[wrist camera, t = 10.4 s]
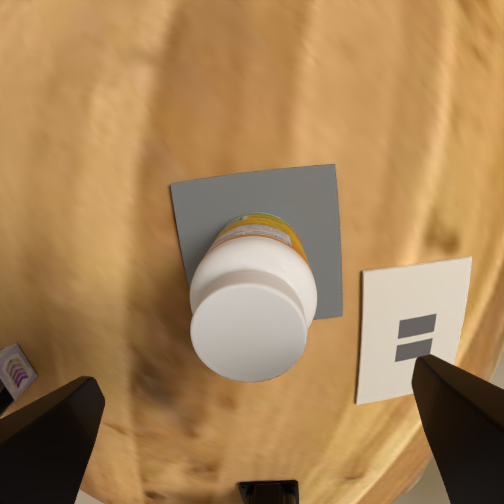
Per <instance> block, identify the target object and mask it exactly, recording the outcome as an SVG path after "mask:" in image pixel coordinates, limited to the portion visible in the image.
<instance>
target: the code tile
mask: <svg viewBox="0 0 504 504" xmlns="http://www.w3.org/2000/svg"><path fill="white" fill-rule="evenodd" d="M471 264H472V257H471V256H467V257H461V258H454V259H447V260H440V261H433V262H425V263H418V264H411V265H403V266H395V267H387V268H379V269H371V270H363V271H362V326H361V346H360V362H359V375H358V386H357V397H356V405H360V404H365V403H371V402H376V401H381V400H386V399H391V398H395V397H400V396H404V395H408V394H412V393H413V390H412V385H411V381H412V375H413V370H414V365H415V361H416V358H417V357H419V356H422V355H427V354H432V355H434V356H436V357H438V358H440V359H442V360H444V361H446V362H448V363H450V364H452V365H454V361H455V357H456V353H457V349H458V344H459V340H460V335H461V330H462V325H463V320H464V315H465V309H466V303H467V296H468V289H469V282H470V273H471Z"/></svg>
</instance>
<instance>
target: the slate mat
mask: <svg viewBox="0 0 504 504" xmlns="http://www.w3.org/2000/svg"><path fill="white" fill-rule="evenodd" d="M170 185H171V192H172V198H173V205H174V211H175V217H176V223H177V229H178V235H179V240H180V246H181V251H182V257H183V262H184V267H185V272H186V277H187V282H188V287H189V292H190V287H191V283H192V279H193V277H194V274H195V272H196V269H197V267H198V265H199V264H200V262H201V261H202V259H203V258H204V256H205V255H206V253H207V252H208V250H209V249H210V247H211V246H212V244H213V243H214V241H215V239H216V238H217V236H218V235H219V233H220V232H221V231H222V229H223V228H224V227H225V226H226V225H227V224H228V223H229V222H231V221H232V220H234V219H235V218H237V217H239V216H242V215H245V214H249V213H255V212H261V213H268V214H271V215H274V216H277V217H279V218H281V219H282V220H284V221H285V222H287V223H288V224H289V225H290V226H291V227H292V228H293V229H294V231H295V232H296V234H297V235H298V237H299V239H300V241H301V244H302V247H303V249H304V252H305V255H306V257H307V260H308V263H309V266H310V268H311V271H312V274H313V277H314V280H315V284H316V289H317V307H316V312H315V315H314V318H313V320H317V319H325V318H333V317H341V316H343V298H342V257H341V235H340V218H339V203H338V190H337V179H336V168H335V164H329V165H316V166H304V167H293V168H283V169H273V170H264V171H255V172H247V173H239V174H231V175H224V176H216V177H209V178H203V179H196V180H190V181H183V182H177V183H172V184H170Z"/></svg>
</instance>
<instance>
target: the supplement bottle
mask: <svg viewBox="0 0 504 504" xmlns="http://www.w3.org/2000/svg"><path fill="white" fill-rule="evenodd" d="M190 306H191V311H192V314H193V317H192V321H191V326H190V333H191V341H192V344H193V347H194V349H195V351H196V353H197V355H198V356H199V358H200V359H201V360H202V361H203V363H204V364H205V365H206V366H208V367H209V368H210V369H211V370H213V371H214V372H216V373H217V374H219V375H221V376H223V377H226V378H228V379H232V380H235V381H240V382H261V381H266V380H270V379H273V378H275V377H278V376H280V375H281V374H283V373H285V372H286V371H288V370H289V369H290V368H291V367H293V366H294V365H295V363H296V362H297V361H298V360H299V358H300V357H301V355H302V353H303V351H304V349H305V345H306V341H307V329H308V328H309V326H310V324H311V322H312V320H313V318H314V315H315V312H316V307H317V289H316V284H315V280H314V277H313V274H312V271H311V268H310V266H309V263H308V260H307V257H306V255H305V252H304V249H303V247H302V244H301V241H300V239H299V237H298V235H297V234H296V232H295V231H294V229H293V228H292V227H291V226H290V225H289V224H288V223H287V222H285V221H284V220H282V219H281V218H279V217H277V216H274V215H271V214H268V213H261V212H255V213H249V214H245V215H242V216H239V217H237V218H235V219H234V220H232V221H231V222H229V223H228V224H227V225H226V226H225V227H224V228H223V229H222V231H221V232H220V233H219V235H218V236H217V238H216V239H215V241H214V243H213V244H212V246H211V247H210V249H209V250H208V252H207V253H206V255H205V256H204V258H203V259H202V261H201V262H200V264H199V265H198V267H197V269H196V272H195V274H194V277H193V279H192V283H191V287H190Z"/></svg>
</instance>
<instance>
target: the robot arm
mask: <svg viewBox="0 0 504 504" xmlns="http://www.w3.org/2000/svg"><path fill="white" fill-rule="evenodd" d="M411 385H412V390H413V393H414V396H415V400H416V403H417V407H418V410H419V414H420V418H421V421H422V425H423V428H424V432H425V434H426V437H427V440H428V442H429V445H430V447H431V450H432V453H433V455H434V458H435V460H436V463H437V466H438V468H439V471H440V474H441V477H442V479H443V482H444V485H445V488H446V491H447V494H448V497H449V500H450V503H451V504H504V389H501V388H499V387H497V386H495V385H493V384H491V383H489V382H487V381H485V380H483V379H481V378H479V377H477V376H475V375H473V374H471V373H469V372H467V371H465V370H463V369H461V368H459V367H457V366H454V365H452V364H450V363H448V362H446V361H444V360H442V359H440V358H438V357H436V356H434V355H432V354H427V355H422V356H419V357H417V358H416V361H415V365H414V370H413V375H412V381H411ZM104 406H105V398H104V396H103V394H102V392H101V389H100V387H99V385H98V383H97V381H96V379H95V378H93V377H89V376H81V377H79V378H77V379H75V380H73V381H71V382H70V383H68V384H66V385H64V386H62V387H60V388H59V389H57V390H55V391H53V392H51V393H49V394H47V395H45V396H44V397H42V398H40V399H38V400H36V401H34V402H32V403H30V404H28V405H27V406H25V407H23V408H21V409H19V410H17V411H15V412H13V413H11V414H9V415H7V416H5V417H4V418H2V419H0V504H74V503H75V500H76V497H77V494H78V491H79V488H80V485H81V482H82V479H83V476H84V473H85V470H86V467H87V464H88V461H89V459H90V456H91V453H92V450H93V447H94V444H95V441H96V437H97V433H98V429H99V425H100V421H101V417H102V414H103V410H104ZM239 490H240V493H241V496H242V498H243V501H244V504H299V489H298V481H281V482H258V483H240V484H239Z"/></svg>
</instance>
